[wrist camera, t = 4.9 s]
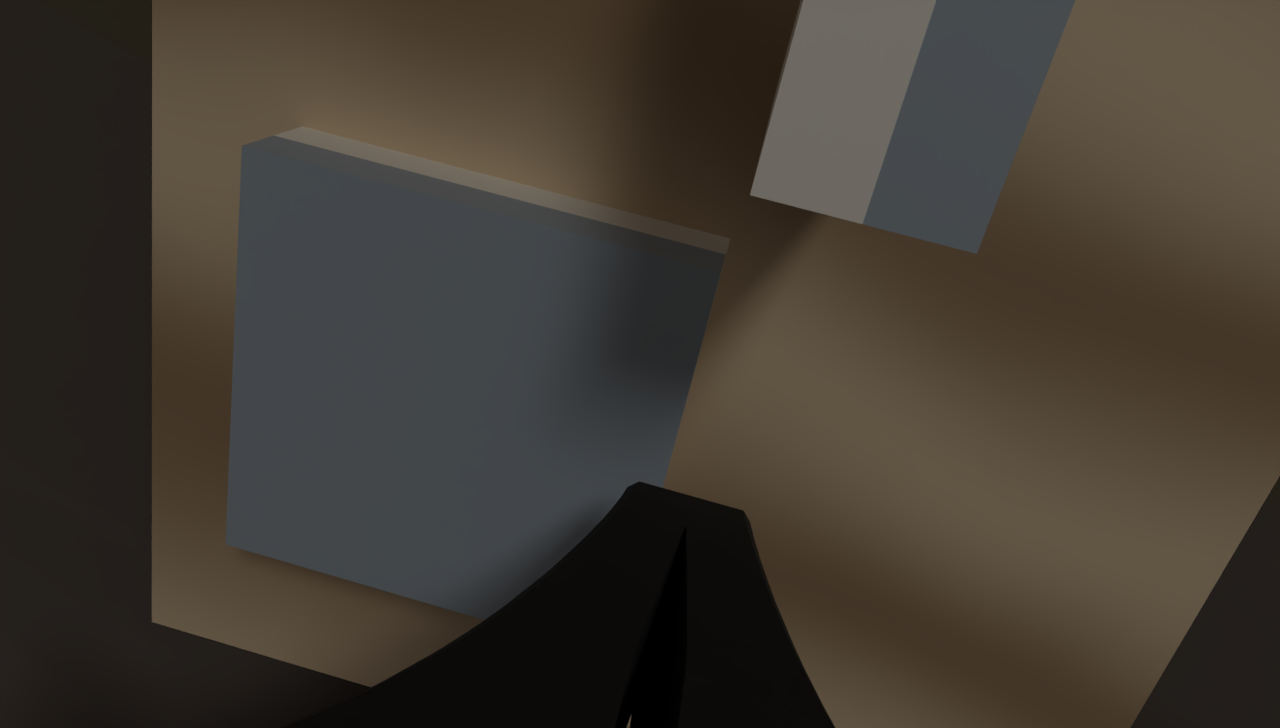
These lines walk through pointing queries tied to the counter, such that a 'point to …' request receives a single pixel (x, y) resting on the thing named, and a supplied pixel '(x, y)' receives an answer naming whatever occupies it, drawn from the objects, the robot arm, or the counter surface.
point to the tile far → (447, 367)
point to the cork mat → (802, 332)
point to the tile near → (906, 110)
